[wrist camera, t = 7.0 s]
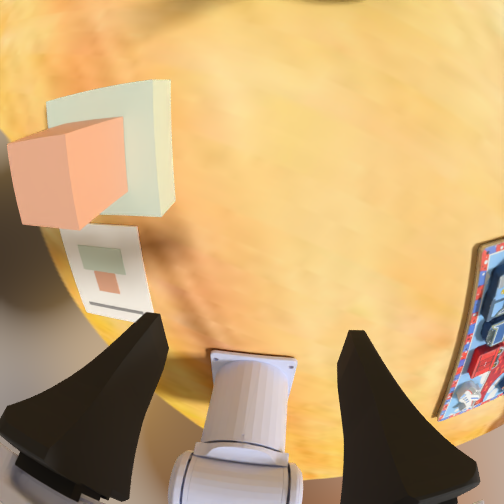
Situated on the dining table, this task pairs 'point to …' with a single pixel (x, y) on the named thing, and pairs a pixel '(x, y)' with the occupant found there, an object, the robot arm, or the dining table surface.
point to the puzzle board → (480, 339)
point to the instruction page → (109, 270)
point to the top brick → (69, 172)
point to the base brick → (131, 139)
